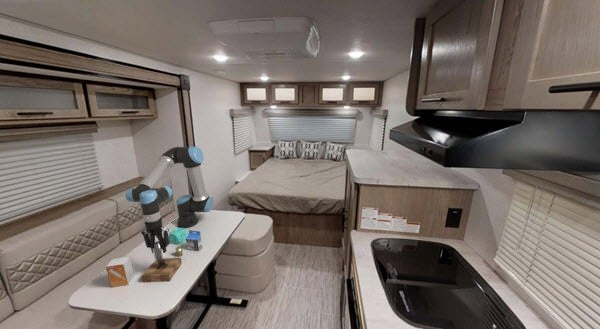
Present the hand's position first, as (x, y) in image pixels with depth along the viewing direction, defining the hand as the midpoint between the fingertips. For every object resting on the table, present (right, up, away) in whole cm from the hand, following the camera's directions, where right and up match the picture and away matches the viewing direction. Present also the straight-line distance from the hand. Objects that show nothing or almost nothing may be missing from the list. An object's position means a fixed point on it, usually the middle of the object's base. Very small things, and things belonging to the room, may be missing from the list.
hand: (160, 257), depth 123 cm
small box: (-18, -12, -4) cm, 22 cm away
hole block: (0, -10, +3) cm, 10 cm away
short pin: (+1, -6, +17) cm, 18 cm away
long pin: (0, -5, +1) cm, 5 cm away
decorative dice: (-7, -2, +32) cm, 33 cm away
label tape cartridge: (+8, -4, +23) cm, 25 cm away
